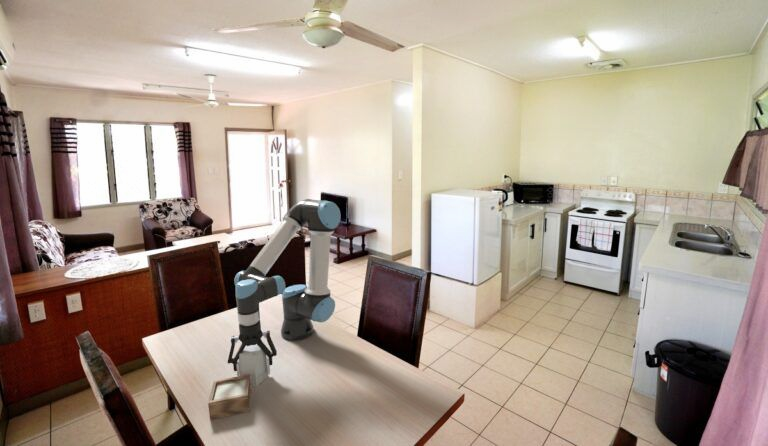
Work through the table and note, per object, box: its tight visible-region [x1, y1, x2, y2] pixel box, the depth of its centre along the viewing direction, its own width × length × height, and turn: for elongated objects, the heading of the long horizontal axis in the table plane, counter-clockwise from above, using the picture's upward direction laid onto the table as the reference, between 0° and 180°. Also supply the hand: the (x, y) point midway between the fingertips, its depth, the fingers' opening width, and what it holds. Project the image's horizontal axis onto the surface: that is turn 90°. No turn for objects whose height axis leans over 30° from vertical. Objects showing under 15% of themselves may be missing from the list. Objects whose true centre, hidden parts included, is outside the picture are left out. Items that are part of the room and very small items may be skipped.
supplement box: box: [238, 344, 269, 387], centre depth 137 cm, size 7×7×13 cm
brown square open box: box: [207, 374, 252, 420], centre depth 124 cm, size 12×12×6 cm
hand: (254, 375), depth 138 cm, fingers open, 10 cm apart
